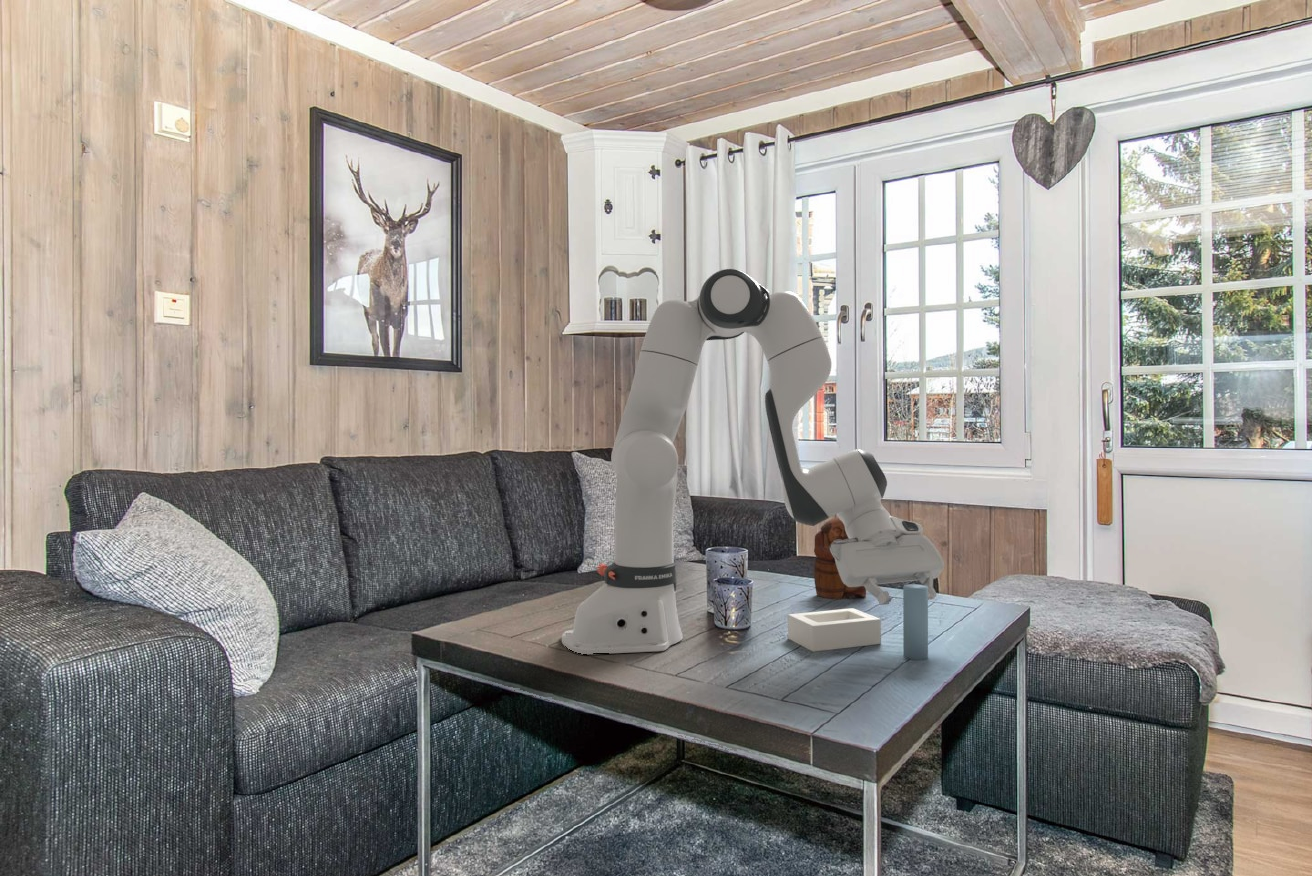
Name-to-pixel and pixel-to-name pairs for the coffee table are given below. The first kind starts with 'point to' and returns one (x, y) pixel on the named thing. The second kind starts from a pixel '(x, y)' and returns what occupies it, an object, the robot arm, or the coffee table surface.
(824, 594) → the wooden figurine
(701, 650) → the coffee table surface
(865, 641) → the slot block
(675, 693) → the coffee table surface
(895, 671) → the coffee table surface
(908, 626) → the blue pin
